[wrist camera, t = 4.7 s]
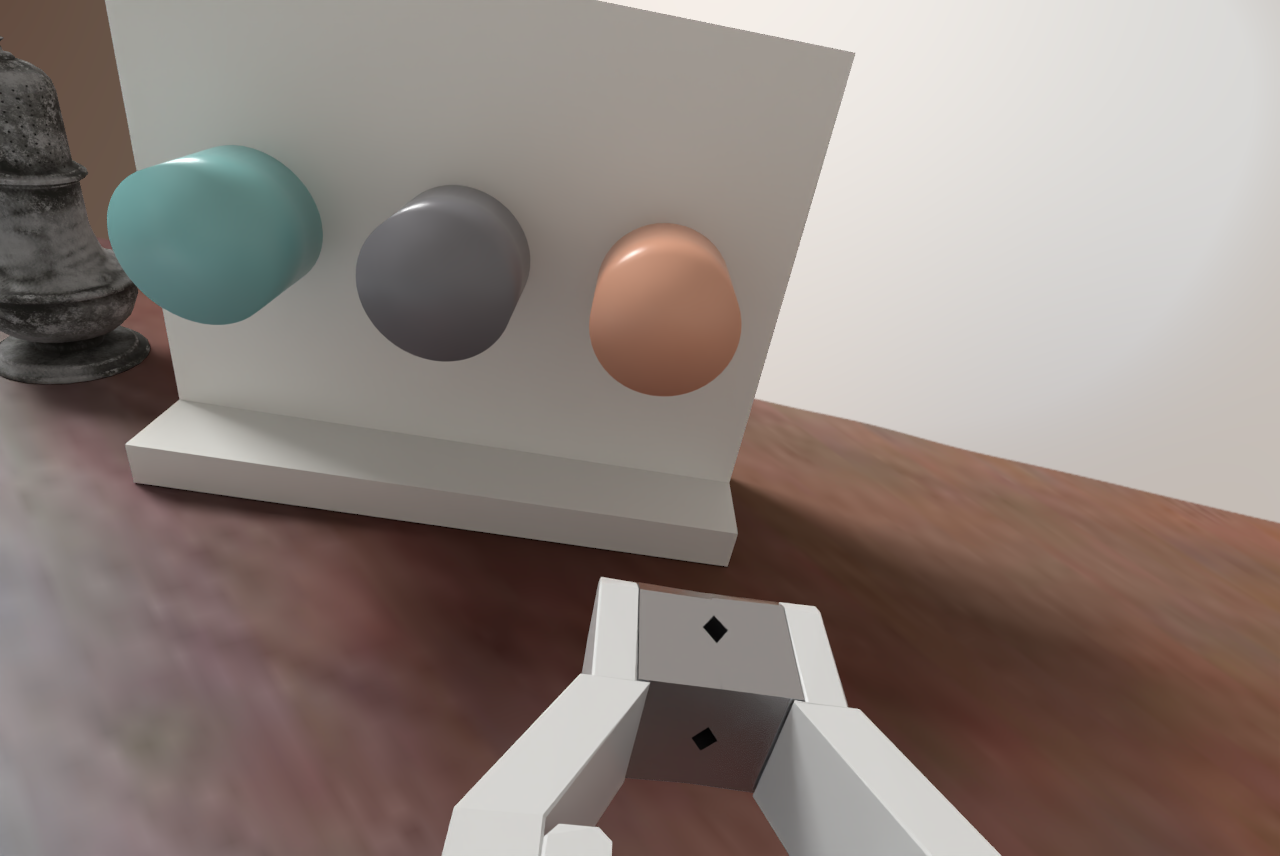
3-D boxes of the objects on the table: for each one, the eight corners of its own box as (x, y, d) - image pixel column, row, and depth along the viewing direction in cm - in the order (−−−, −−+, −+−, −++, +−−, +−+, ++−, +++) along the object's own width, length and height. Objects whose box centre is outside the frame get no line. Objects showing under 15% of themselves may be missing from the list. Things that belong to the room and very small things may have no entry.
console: (133, 482, 23) (-13, -125, 15) (228, 396, 28) (158, -89, 20) (727, 566, 24) (887, 58, 16) (713, 470, 30) (831, 48, 22)
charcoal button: (358, 348, 19) (352, 197, 17) (393, 307, 21) (392, 172, 19) (506, 372, 19) (519, 226, 17) (524, 329, 22) (536, 198, 20)
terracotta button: (579, 384, 19) (600, 241, 17) (588, 340, 22) (607, 211, 20) (721, 406, 20) (758, 269, 17) (713, 360, 22) (744, 236, 20)
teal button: (125, 311, 18) (90, 151, 16) (189, 274, 21) (166, 132, 19) (281, 336, 19) (266, 182, 17) (326, 297, 21) (318, 159, 19)
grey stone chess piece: (132, 389, 27) (56, 46, 21) (-56, 385, 26) (-198, 9, 20) (175, 327, 32) (122, 32, 26) (19, 320, 30) (-77, 1, 24)
